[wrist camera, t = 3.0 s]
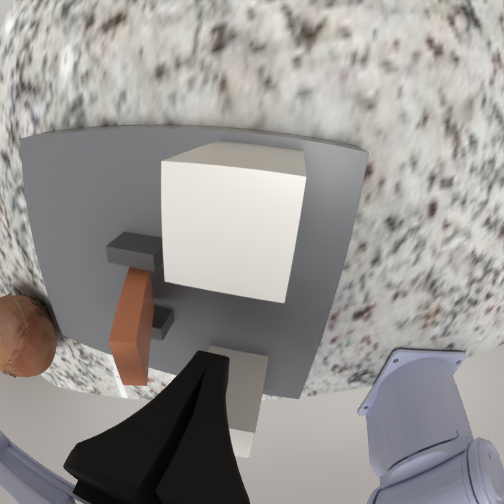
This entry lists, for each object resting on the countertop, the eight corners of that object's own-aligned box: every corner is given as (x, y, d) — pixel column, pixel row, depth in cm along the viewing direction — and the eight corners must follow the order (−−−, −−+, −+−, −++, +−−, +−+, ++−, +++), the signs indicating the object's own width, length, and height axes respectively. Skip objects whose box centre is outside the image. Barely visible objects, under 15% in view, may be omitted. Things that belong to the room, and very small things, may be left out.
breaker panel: (300, 370, 23) (297, 419, 19) (78, 317, 25) (51, 348, 21) (356, 145, 15) (379, 158, 10) (47, 131, 17) (0, 144, 12)
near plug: (291, 230, 14) (284, 303, 9) (213, 219, 15) (164, 281, 9) (303, 150, 13) (306, 177, 7) (217, 140, 13) (161, 160, 8)
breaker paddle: (154, 307, 17) (147, 385, 12) (135, 307, 17) (123, 384, 12) (149, 266, 16) (136, 342, 11) (129, 266, 16) (108, 341, 10)
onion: (61, 322, 31) (29, 384, 25) (9, 277, 26) (-27, 341, 20) (81, 329, 25) (42, 408, 20) (13, 271, 20) (-34, 355, 14)
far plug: (261, 389, 20) (248, 457, 15) (210, 379, 21) (187, 444, 15) (268, 356, 18) (255, 432, 13) (210, 345, 19) (182, 417, 14)
